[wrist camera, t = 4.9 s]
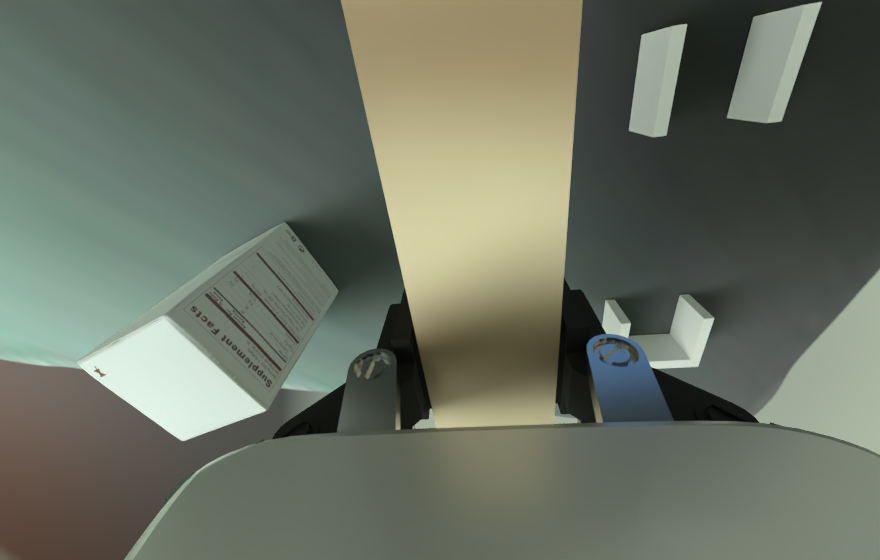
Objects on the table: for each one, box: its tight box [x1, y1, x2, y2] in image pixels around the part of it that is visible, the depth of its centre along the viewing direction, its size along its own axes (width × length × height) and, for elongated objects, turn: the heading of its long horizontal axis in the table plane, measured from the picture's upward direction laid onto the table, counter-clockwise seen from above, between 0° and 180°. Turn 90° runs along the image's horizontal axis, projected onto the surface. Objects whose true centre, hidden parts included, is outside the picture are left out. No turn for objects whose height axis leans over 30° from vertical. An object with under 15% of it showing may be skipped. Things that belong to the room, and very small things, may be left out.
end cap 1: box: [602, 294, 714, 369], centre depth 27 cm, size 5×6×3 cm
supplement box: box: [78, 222, 339, 441], centre depth 23 cm, size 7×7×13 cm
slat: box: [341, 0, 583, 428], centre depth 11 cm, size 20×4×4 cm, turn 8°
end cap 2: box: [629, 2, 822, 137], centre depth 18 cm, size 5×6×3 cm
